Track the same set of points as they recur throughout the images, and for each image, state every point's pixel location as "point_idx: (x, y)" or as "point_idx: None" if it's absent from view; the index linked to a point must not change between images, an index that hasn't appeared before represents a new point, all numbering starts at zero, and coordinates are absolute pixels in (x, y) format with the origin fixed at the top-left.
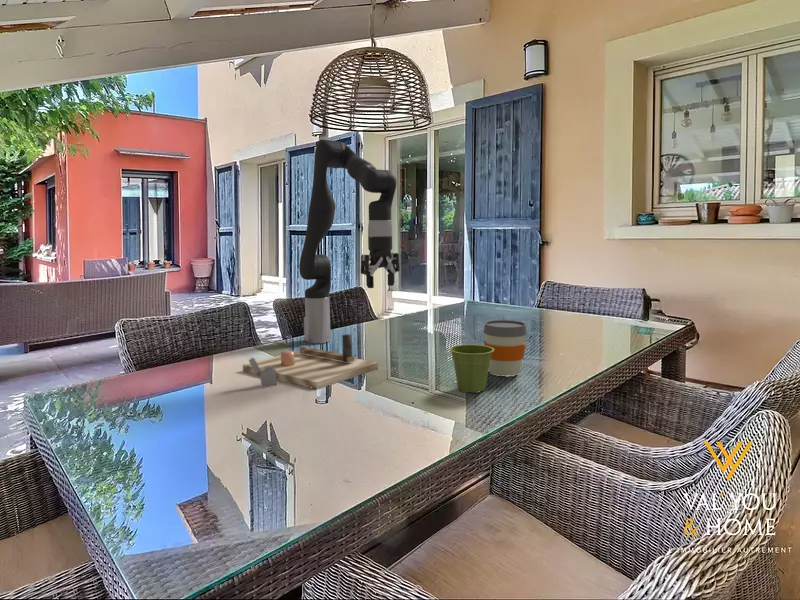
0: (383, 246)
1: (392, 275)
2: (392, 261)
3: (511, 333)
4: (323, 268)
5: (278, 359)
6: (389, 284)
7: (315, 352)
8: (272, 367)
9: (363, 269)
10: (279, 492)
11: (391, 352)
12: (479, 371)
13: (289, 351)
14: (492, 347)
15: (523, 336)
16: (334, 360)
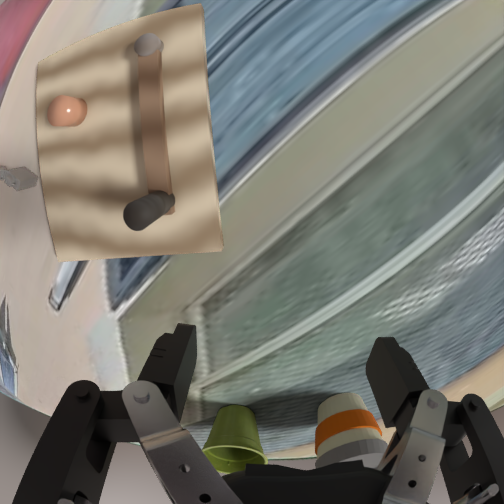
0: None
1: (386, 421)
2: (478, 471)
3: None
4: None
5: (91, 56)
6: (374, 354)
7: (140, 95)
8: (13, 185)
9: (82, 421)
10: (11, 378)
11: (375, 161)
12: (223, 448)
13: (62, 109)
14: (316, 444)
15: None
16: None
